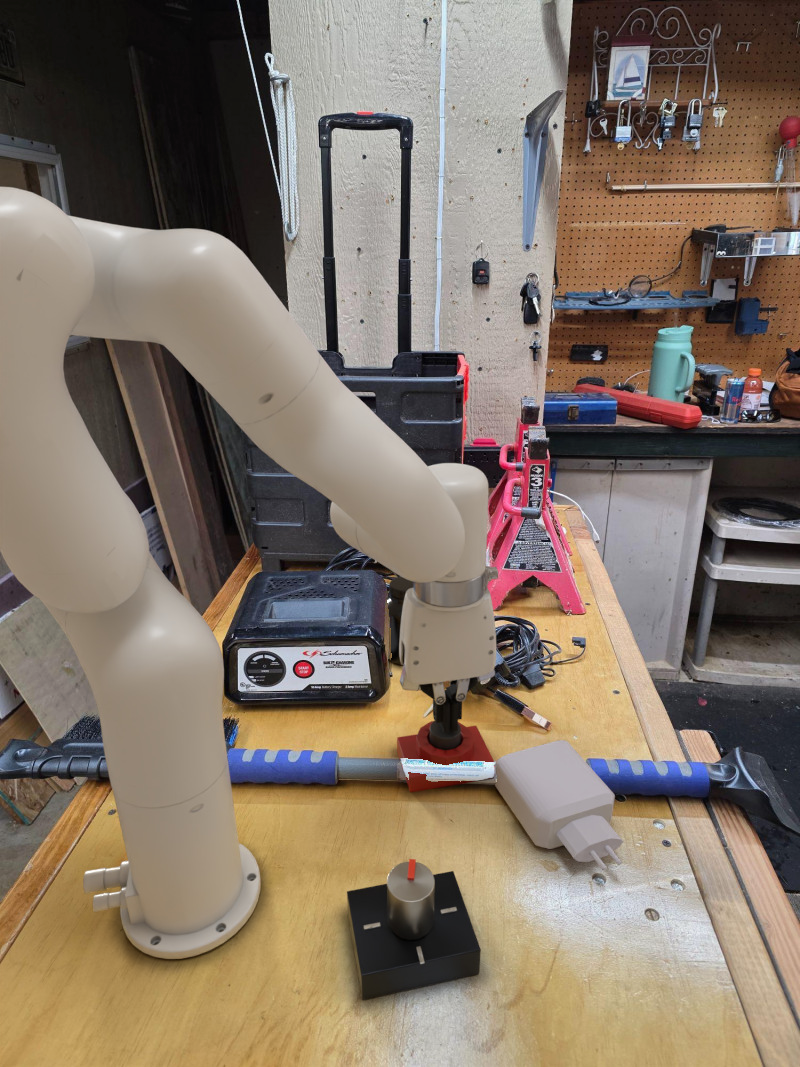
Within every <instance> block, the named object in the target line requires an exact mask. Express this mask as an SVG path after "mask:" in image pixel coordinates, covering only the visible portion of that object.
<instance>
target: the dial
mask: <svg viewBox="0 0 800 1067" xmlns="http://www.w3.org/2000/svg"><path fill="white" fill-rule="evenodd" d="M433 875H434V874H433V872H432V870H431V869H430V868H429V867H427V866H426V865H425V864H423V863H421V862H417V860H416V859H415V858H409V859H408V861H404V862H400V863H398V864H397V865H394V867H393V868H392V869H391V870H390V871H389V873H388V875H387V878H386V884H387V911H388V924H389V927H390V929H391V930H392V931H393V933H394V934H396V935H397V936H398V937H400V938H403V939H406V940H416V939H419V938H422V937H424V936H425V935H426V934H428V933H429V931H430V930H431V928H432V926H433V923H434V892H435V880H434V876H433Z"/></svg>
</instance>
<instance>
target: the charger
mask: <svg viewBox="0 0 800 1067" xmlns="http://www.w3.org/2000/svg"><path fill="white" fill-rule="evenodd" d="M495 774H497V782H496V784H495V783H494V786H495V788H496V789H497V791H498V793H499V794H500V795H501V797H502V798H503V800H504V801H505V803H506V804H507V806H508V807H509V808H510V810H511V811H512V813H513V814H514V816H515V817H516V819H517V820H518V821H519V823H520V825H521V826H522V828H523V829H524V831H525V832H526V834H527V835H528V837H529V838H530V839H531V841H532V843H533V844H534V845H535V846H537V847H540V848H546V849H548V850H552V849H556V848H559V847H562V846H564V847H565V849H566V850H567V852H568V853H569V854H570V855H571V857H572V858H573V860H575V861H577V862H581V863H590V862H593V861H595V863H596V864H597V865H598V866H599V868H600V869H601V870H602V871H606V870H607V868H608V867H607V866H606V864H605V863H604V861H603V860H602V858H605V857H608V856H610V857H611V859H612V860H613V861H614V862H615V864H617V866H621V865H622V863H623V861H622V860H621V859H620V858H619V856H618V855H617V854H616V852H615V851H616V850H618V849H619V848H620V847H621V846H622V845H623V843H624V840H623V839H622V837H621V836H620V835H619V834H618V833H617V832H616V830H615V829H614V828H613V827H612V826H611V822H612V818H613V813H614V812H613V811H614V806H615V798H616V796H615V793H614V792H613V791H612V790H611V789H610V787H608V785H607V784H606V783H605V782H604V781H603V780H602V778H600V776H599V775H598V774H597V773H596V772H595V771H594V769H592V767H591V766H590V765H589V764H588V763H587V762H586V761H585V759H584V758H583V757H582V756H581V754H579V752H578V751H576V749H575V748H574V747H573V746H572V745H571V743H570V742H568V741H567V740H564V739H560V740H554V741H551V742H547V743H544V744H539V745H536V746H532V747H528V748H525V749H522V750H517V751H514V752H510V753H507V754H504V755H503V756H501V757H500V758H498V759H497V761H496V762H495Z"/></svg>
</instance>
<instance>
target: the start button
mask: <svg viewBox="0 0 800 1067" xmlns="http://www.w3.org/2000/svg"><path fill="white" fill-rule="evenodd" d="M433 721H434V722H433V723H432V724H431V725H430V743H431V745H432V746H433V747H435V748H437V749H441V750H451V749H455V748H457V747H458V746H459V744H460V742H461V727H460V725H459V724H458V731H454V732H453V731H451V730H450V731H449V732H448V733H443V730H442V728H441V726H440V723H435V720H433Z"/></svg>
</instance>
